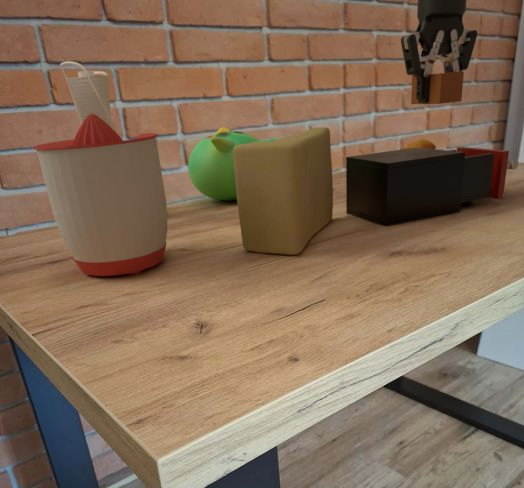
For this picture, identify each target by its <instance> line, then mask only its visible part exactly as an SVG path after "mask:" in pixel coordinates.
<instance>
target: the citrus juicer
mask: <svg viewBox="0 0 524 488" xmlns="http://www.w3.org/2000/svg"><path fill="white" fill-rule="evenodd" d="M116 132H117V131H116ZM116 132H115V131H114V130H113V129H112V128H111V127H110V126H109V125H108V124H107V123H105V122H104V121H103V120H102V119H101V118H99V117H98V116H96V115H95V114H90V115H88V116H87V117H86V119H85V120H84V121H83V123H82V125H81V124H80V126H79V129H78V130H77V132H76V134H75V136H74V138H72V139H66V140H60V141H53V142H47V143H42V144H41V143H40V144H37V145H34V146H33V150H35V151H36V154H37V158H38V163H39V166H40V169H41V173H42V177H43V181H44V185H45V188H46V192H47V196H48V200H49V203H50V207H51V211H52V215H53V218H54V221H55V224H56V228H57V230H58V232H59V235H60V237H61V239H62V242H63V243H64V245H65V247H66V249H67V250H68V252H69V253H70V255H71V259H72V260H73V261H74V263H75V264H76V265H77V267H78V268H79V269H80V271H81V272H82V273H84V274H85V275H87V276H94V277H95V276H96V277H111V276H121V275H137V274H140V273H141V272H142V271H144V270H147V269H150V268H152V267H154V266H156V265H158V264H160V263H161V262H162V261H163V260H164V256H165V252H166V247H167V235H168V207H167V205H168V204H167V198H166V197H167V196H166V190H165V184H164V179H163V173H162V166H161V161H160V154H159V148H158V142H157V137H158V136H159V135H158V134H157V133H155V132H154V133H153V132H145V133H139V134H138V135H136V136H135V138H132V139H124V140H123V139H122V138H121V136H120V135H119V134H118V132H117V133H116Z"/></svg>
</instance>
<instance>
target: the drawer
mask: <svg viewBox="0 0 524 488" xmlns="http://www.w3.org/2000/svg"><path fill="white" fill-rule="evenodd" d="M448 151H458V152H465V157H464V158H465V160H464V171H463V181H462V192H461V202H460V204H463V203H469V202H474V201H480V200H485V199H495V200H500V199H504V193H505V185H506V178H507V171H508V170H513V171H514V170H516V169H517V168H518V167H519V162H518V160H514V159H509V155H510V150H505V149H503V150H502V149H491V148H480V147H469V146H458V147H456V149H449V150H448Z"/></svg>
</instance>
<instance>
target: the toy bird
mask: <svg viewBox="0 0 524 488" xmlns="http://www.w3.org/2000/svg"><path fill="white" fill-rule="evenodd" d="M281 138H282V137H273V138H268V139H263V140H259V139H258V138H257V137H255V136H253V135H251V134H249V133H246V132H243V131H236V130H233V131H232V130H231V129H230V128H229V127H227V126H221V127H219V129H217V131H216V132H215V133H214V134H210V135H208V136H207V137H204V138H203V139H201V140H200V141H199V142H198V143H197V144H196V145H195V146H194V147H193V148H192V151H191V153H190V155H189V158H188V163H187V165H188V166H187V170H188V171H187V172H188V175H189V178H190V181H191V183H192V185H193V186H194V187H195V189H196V190H198V192H200V193H201V194H202V195H204V196H206V197H207V198H210V199H213V200H218V201H237V195H236V184H235V173H234V161H233V149H234V147H236V146H238V145H241V144H247V143H254V142H267V141H273V140H278V139H281Z"/></svg>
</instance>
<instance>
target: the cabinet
mask: <svg viewBox="0 0 524 488" xmlns="http://www.w3.org/2000/svg"><path fill="white" fill-rule="evenodd" d="M401 149H402V148H401ZM464 157H465V152H458V151H457V150H456V151H448V150H445V149H437V148H435V149H427V148H417V147H416V148H409V149H402V150H400V149H396V150H388V151H380V152H374V153H373V152H372V153H366V154H358V155H352V156H346V157H345V178H346V179H345V182H346V183H345V185H346V186H345V187H346V188H345V190H346V191H345V192H346V193H345V194H346V196H345V197H346V198H345V199H346V201H345V203H346V204H345V205H346V206H345V207H346V210H345V211H346V214H349V215H351V216H355V217H356V218H360V219H364V220H367V221H370V222H372V223H375V224H379V225H381V226H385V227H389V226H390V227H391V226H393V225H399V224H406V223H410V221H411V222H416V221H420V220H421V221H422V220H426V219H433V218H436V217H442V216H447V215H452V214H453V215H454V214H457V213H460V210H461V203H460V202H461V192H462V181H463V171H464V160H465V158H464ZM405 222H406V223H405Z"/></svg>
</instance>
